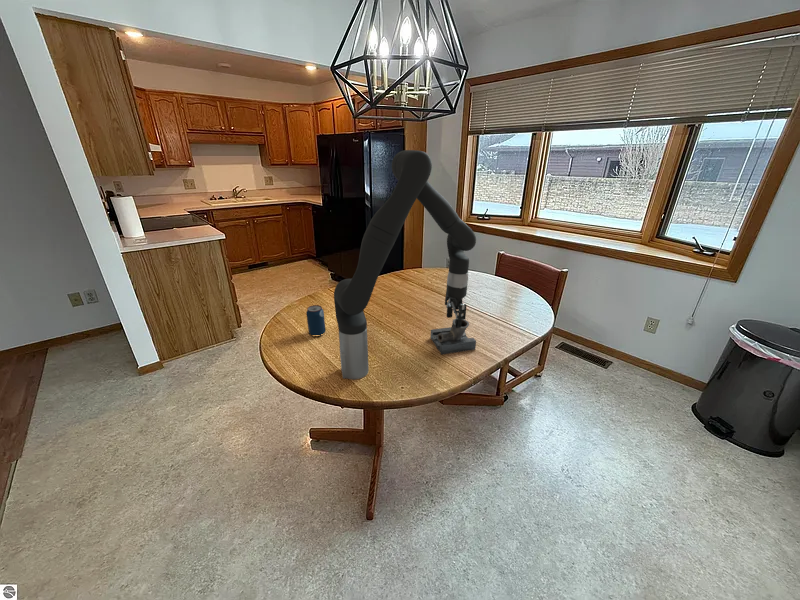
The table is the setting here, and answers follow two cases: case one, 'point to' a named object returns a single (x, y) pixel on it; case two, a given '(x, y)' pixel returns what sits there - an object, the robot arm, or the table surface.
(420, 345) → the table surface
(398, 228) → the robot arm
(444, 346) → the v block
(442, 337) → the pipe
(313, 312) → the soda can
